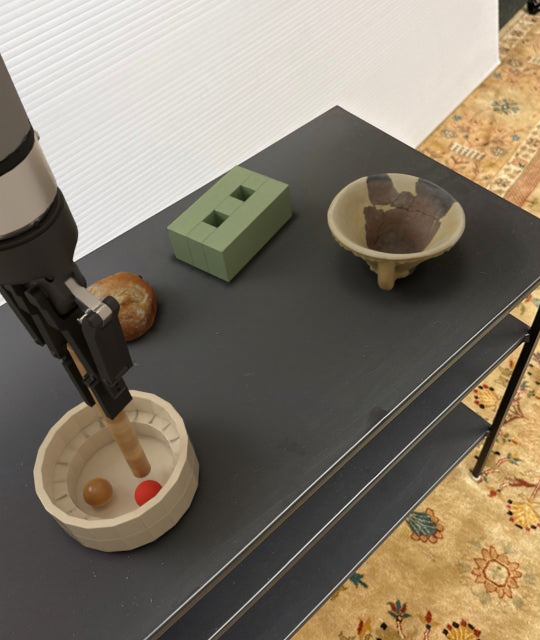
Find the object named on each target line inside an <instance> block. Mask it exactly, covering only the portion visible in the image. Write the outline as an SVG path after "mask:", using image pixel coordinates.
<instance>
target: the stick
mask: <svg viewBox="0 0 540 640" xmlns="http://www.w3.org/2000/svg"><path fill="white" fill-rule="evenodd" d="M67 348H68V350H69V352H70V354H71V356H72V358H73V360H74V362H75V364H76V366H77V368H78V370H79V372H80V373H81V375H82V377H83V376H84V375H85V374H86V373H87V372H86V370H85V368H84V367H83V365H82V364H81V362H80V361H79V359H78V357H77V356H76V354H75V353H74V351H73V350H72V348H71V346H70V345H69V343H68V342H67ZM83 379H84V377H83ZM88 389H89V391H90V393H91V395H92V397H93V398H94V400H95V402H96V404H97V406H98V408H99V410H100V412H101V414H102V416H103V418H104V420H105V422H106V423H107V425H108V427H109V429H110V431H111V433H112V435H113V437H114V439H115V441H116V443H117V445H118V446H119V448H120V450H121V452H122V454H123V456H124V458H125V460H126V462H127V464H128V466H129V468H130V470H131V471H132V473H133V475H134V476H135V477H137V478H144V477H146V476H147V475H148V474H149V473H150V471H151V466H150V463H149V461H148V459H147V457H146V455H145V453H144V451H143V448H142V446H141V444H140V442H139V440H138V438H137V436H136V433H135V431H134V429H133V427H132V425H131V423H130V421H129V418H128V416H127V414H126V412H125V410H124V409H123V410H122V411H121V412H120V413H119V414H118V415H117V416H116V417H115V418H114V419H113V421H112V420H111V419H109V418H108V417H106V415H105V413H104V411H103V410H102V408H101V406H100V405H99V403H98V401H97V399H96V398H95V396H94V394H93V392H92V391H91V389H90V388H89V387H88Z"/></svg>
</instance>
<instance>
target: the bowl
mask: <svg viewBox="0 0 540 640" xmlns="http://www.w3.org/2000/svg"><path fill="white" fill-rule="evenodd" d="M326 214H327V224H328V227H329V231H330V232H331V235H332V237H333V238H334V240H335V242H337V243H338V244H339V246H340V247H341V248H343V249H344V250H346V251H349V252H351V253H352V254H353V255H354V256H355V257H357V258H358V257H359V258H361V259H362V260H364V261H365V262H366V264H367V265H368V266H369V270H370V271H372V272H374V273H375V274H377V284H378V287H379V288H380V289H381V290H383V291H390V290H392V289H393V288H394V286H395V283H396V282H395V281H396V280H397V279H404V278H406V277H408V276H410V275H412V274H413V273H414V271H415V270H416V269H417V267H418V265H420V264H421V263H423V262H425V261H427V260H429V259H433V258H437V257H439V256H442V255H443V254H444V253H445V252H449V251H450V250H451V248H453V247H454V246H455V245H456V244H457V242H458V241H459V240H460V239H461V237H462V236H463V234H464V231H465V229H466V215H465V211H464V209H463V207H462V205H461V204H460V202H459V201H458V200H457V199H456V198H455V197H454V196H453V195H452V194H451V193H450V192H449V191H447V190H446V189H444V188H443V187H442V186H440V185H439V184H436V183H434V182H432V181H431V180H428V179H425V178H422V177H417V176H414V175H410V174H405V173H395V172H394V173H392V172H390V173H389V172H388V173H387V172H386V173H377V174H371V175H365V176H363V177H360V178H358V179H356V180H354V181H352V182H350V183H349V184H347V185H346V186H345V187H343V188H342V189H341V190H340V191H339V192H338V193H337V194H336V195H335V197H334V198H333V199H332V201H331V203H330V205H329V208H328V209H327V213H326Z"/></svg>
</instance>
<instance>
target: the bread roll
mask: <svg viewBox="0 0 540 640" xmlns="http://www.w3.org/2000/svg"><path fill="white" fill-rule="evenodd" d="M86 289H87V290H88V291H89V292H90V293H92V294H93V295H94V296H95V297H96V298H98V299H99V298H100V297H102V298H105V297H107V296H108V295H110V296H112V297H114V298H115V299H116V300H117V301H118V303H119V304H120V310H119V314H118V318H119V321H120V324H121V327H122V331H123V334H124V337H125V340H126V342H131V341H134V340H137V339H138V338H140V337H142V336H143V335H144V334H146V332H148V331H149V330H150V329H151V327H152V326H153V325H154V322H155V318H156V314H157V310H158V297H157V295H156V292H155V290H154V288H153V286H151V284H150V283H149V281H146V280H144V279H143V276H142V275H140V274H136V273H131V272H129V271H119V272H117V273H114V274H110V275H108V276H107V277H105V278H102V279H100V280H97V281H96V282H94V283H91V285H89V286H87V287H86Z"/></svg>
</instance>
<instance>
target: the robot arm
mask: <svg viewBox="0 0 540 640" xmlns="http://www.w3.org/2000/svg"><path fill="white" fill-rule="evenodd" d="M10 74H11V73H10V72H9V70H8V67H7V65H6V63H5V61H4V58H3V56H2V54H1V53H0V295H1V297H2V298H3V299H4V301H5V302H6V303H7V305H8V306H9V307H10V309H11V311H12V312H13V313H14V314H15V316H16V317H17V319H18V320H19V322H20V323H21V324H22V325H23V327H24V329H25V330H26V331H27V333H28V334H29V335H30V337H31V338H32V340H33V341H34V343H35V344H36V345H38V346H40V347H42V348H43V347H45V346H47V348H48V350H49V353H50V354H51V355H52V357H53V358H55V359H58V360H60V361H62V362H61V365H62V367H63V368H64V370H65V372H66V373H67V375H68V377H69V379H70V380H71V382H72V383H73V385H74V387H75V388H76V391H77V392H78V393H79V395H80V397H81V398H82V401H83V402H85V403H86V404H87V405H88V406H90V407H91V408H92V407H93V406H94V405H95V404H96V402H95V400H94V398H93V397H92V395H91V393H90V391H89V389H88V387H89V388H90V389H91V391H92V392H93V394H94V396H95V398H96V399H97V401H98V403H99V405H100V406H101V408H102V410H103V411H104V413H105V415H106V417H108V418H109V419H111V420H112V421H113V419H114V418H115V417H116V416H117V415H118V414H119V413H120V412H121V411H122V410H123V409H124V408H125V407H126V406H127V405H128V404H129V402H130V401H131V400H132V399H133V398H132V396H131V394H130V392H129V390H130V389H129V388H128V386H127V384H126V382H125V380H124V378H123V377H124V376H125V375H126V373H127V372H129V370H130V369H132V367H133V366H134V364H133V360H132V356H131V354H130V350H129V347H128V344H127V341H126V340H125V337H124V334H123V331H122V327H121V324H120V321H119V318H118V314H119V310H120V304H119V303H118V301H117V300H116V299H115V298H114V297H112V296H110V295H108V296H107V297H105V298H102V297H100V298H99V299H98V298H96V297H95V296H94V295H93V294H92V293H90V292H89V291H88V290H87V288H88V282H87V279H86V277H85V276H84V275H83V273H82V272H81V270H80V268H79V266H78V265H77V263H76V262H75V261H74V256H75V251H76V247H77V244H78V241H79V227H78V225H77V223H76V220H75V218H74V215H73V214H72V211H71V209H70V207H69V204H68V202H67V200H66V198H65V196H64V193H63V191H62V189H61V188H60V187H59V186H58V183H57V179H56V177H55V175H54V173H53V170H52V168H51V166H50V163H49V162H48V160H47V156H46V155H45V153H44V151H43V148H42V146H41V144H40V142H39V141H40V139H41V136H40V134H39V131H38V130H36V129H34V128H33V124H32V122H31V121H30V118H29V116H28V113H27V111H26V109H25V107H24V104H23V102H22V100H21V97H20V95H19V92H18V91H17V87H16V86H15V83H14V81H13V79H12V76H11V75H10ZM67 342H68V343H69V345H70V346H71V348H72V350H73V351H74V353H75V354H76V356H77V357H78V359H79V361H80V362H81V364H82V365H83V367H84V368H85V370H86V372H87V373H86V374H85V375H84V376H83V377H84V379H83V377H82V375H81V373H80V372H79V370H78V368H77V366H76V364H75V362H74V360H73V358H72V356H71V354H70V352H69V350H68V348H67Z"/></svg>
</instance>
